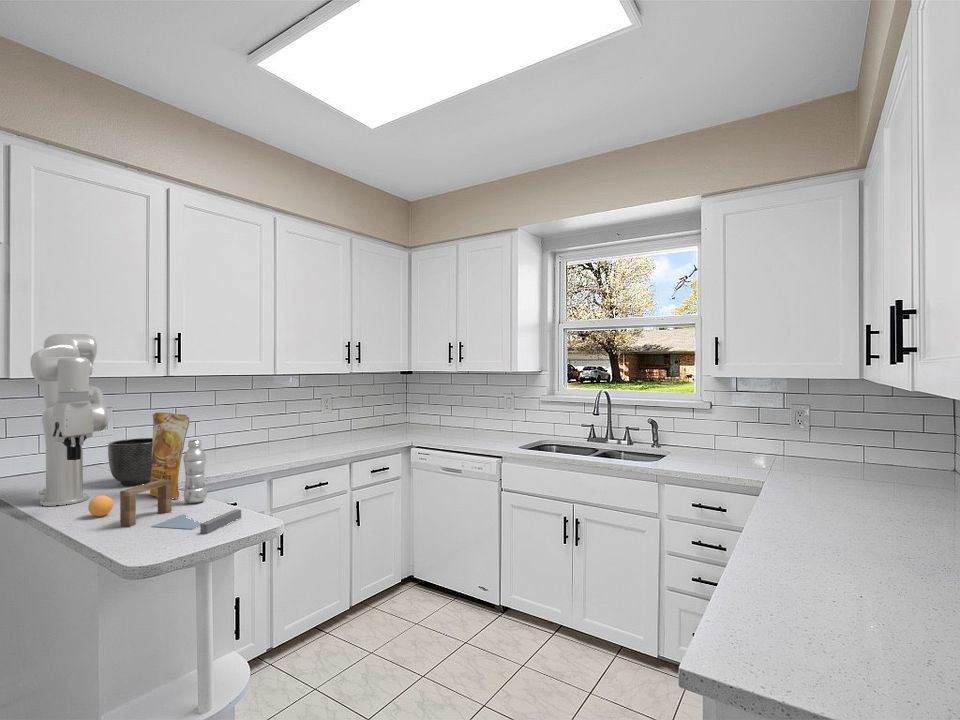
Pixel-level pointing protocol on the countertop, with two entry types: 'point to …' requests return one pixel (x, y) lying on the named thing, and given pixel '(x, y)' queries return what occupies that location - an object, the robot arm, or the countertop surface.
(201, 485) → the plastic bottle
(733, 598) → the countertop surface
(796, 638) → the countertop surface
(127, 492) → the bridge
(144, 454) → the planter
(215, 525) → the stopper
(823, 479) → the countertop surface
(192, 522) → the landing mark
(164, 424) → the pancake mix bag
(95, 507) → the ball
